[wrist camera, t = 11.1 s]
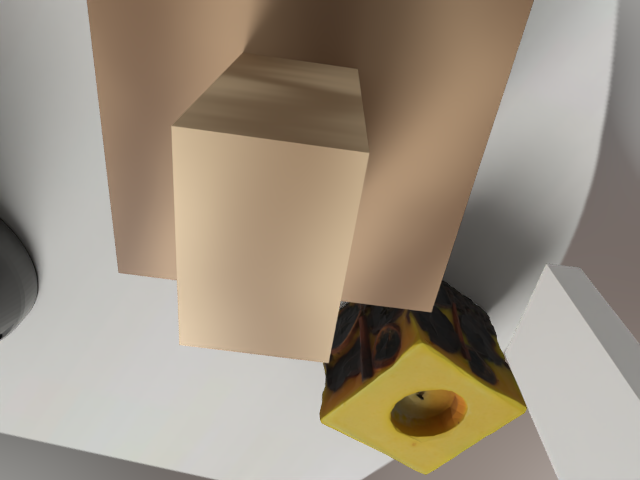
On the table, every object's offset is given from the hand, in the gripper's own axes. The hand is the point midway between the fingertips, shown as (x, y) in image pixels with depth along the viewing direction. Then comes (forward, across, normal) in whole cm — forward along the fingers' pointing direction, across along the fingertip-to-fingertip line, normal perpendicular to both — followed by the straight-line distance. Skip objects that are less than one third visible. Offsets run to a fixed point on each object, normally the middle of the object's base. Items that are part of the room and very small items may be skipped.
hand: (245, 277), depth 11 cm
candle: (+22, +11, -19) cm, 31 cm away
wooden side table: (+22, +1, 0) cm, 22 cm away
